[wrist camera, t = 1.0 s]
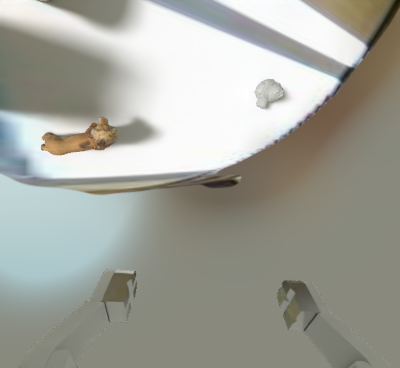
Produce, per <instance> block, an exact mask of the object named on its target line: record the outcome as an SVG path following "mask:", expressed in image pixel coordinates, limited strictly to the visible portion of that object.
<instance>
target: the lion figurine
mask: <svg viewBox="0 0 400 368" xmlns="http://www.w3.org/2000/svg"><path fill="white" fill-rule="evenodd" d="M98 121H99V125H96V124H95V123H92V124H91V125H90V127H89V128H88V129H87V131H86V132H85V133H81V134H76V135H73V136H70V137H67V138H65V139H61V138H60V137H58V136H55V135H52V134H51V133H49V132H48V133H45V134H44V136H42V139H43V140H45V144H42V145H41V150H42V151H43V150H45V151H48V152H49V153H51V154H53V155H64V154H67V153H71V152H80V151H86V150H90V149H95V150H102V149H103V150H104V149H105V148H107V147H109V146H110V145H112V144H113V143H114V142H115V139H116V138H117V134H116V128H114V127H112V126H109V124H108V120H107V119H105V118H104V117H100V118H99V120H98Z"/></svg>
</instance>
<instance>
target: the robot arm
mask: <svg viewBox="0 0 400 368" xmlns="http://www.w3.org/2000/svg"><path fill="white" fill-rule="evenodd" d="M135 277H136V271H125V270H113V269H106V270H105V271H104V272H103V275H102V276H101V279H100V281H99V283H98V285H97V287H96V289H95V291H94V293H93V295H92V297H91V299H90V301H86V302H85V303H83V304H82V305H81V306H80V307H79V308H77V309H76V310H75V311H74V312H72V313H71V314H70V315H69V316H68V317H67V318H65V319H64V320H63V321H62V322H61V323H60V324H58V325H57V326H56V327H55V328H53V330H51V331H50V332H49V333H47V334H46V335H45V336H44V337H43V338H41V339H40V340H39V341H38V342H37V343H35V344H34V345H33V346H32V347H31V348H30V350H29V352H28V353H27V355H26V356H25V358H24V359H23V361H22V362H21V364H20V366H19V367H18V368H78V367H77V365H76V364H75V363H76V361H78V359H79V358H80V357H81V356H82V355H83V354H84V352H85V351H86V350H87V349H88V348H89V347H90V346H91V344H92V343H93V342H94V341H95V340H96V339H97V338H98V336H99V335H100V334H101V333H102V332H103V331H104V329H105V328H106V327H107V326H108V325H109V322H115V323H127V321H128V317H129V314H130V311H131V302H132V301H133V300H134V297H135V294H136V289H137V280H136V279H135ZM282 286H283V287H281V288H280V289H279V290H278V292H277V299H278V303H279V306H280V308H281V309H282V310H283V311H284V314H283V317H284V320H285V323H286V326H287V329H288V330H292V331H304V333H305V334H306V336H307V337H308V338H309V339H310V341H311V342H312V343H313V344H314V345H315V347H316V348H317V349H318V350H319V352H320V353H321V354H322V355H323V357H324V358H325V359H326V360H327V362H328V363H329V364H330V365H331V366H332V368H392V367H391V366H390V364H389V363H388V362H387V360H385V359H384V358H383V357H382V356H381V355H380V354H378V353H377V352H376V351H375V350H374V349H373V348H372V347H370V346H369V345H368V344H367V343H366V342H365V341H364V340H363V339H362V338H360V337H359V336H358V335H357V334H356V333H355V332H354V331H353V330H351V329H350V328H349V327H348V326H347V325H346V324H345V323H343V322H342V321H341V320H340V319H339V318H338V317H337V316H336V315H334V314H331V313H330V311H329V309H328V308H327V306H326V304H325V302H324V301H323V299H322V297H321V295H320V294H319V292H318V290H317V289H316V287H315V285H314V284H313V283H312V282H307V281H292V280H284V281H283V282H282Z"/></svg>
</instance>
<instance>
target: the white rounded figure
mask: <svg viewBox="0 0 400 368" xmlns="http://www.w3.org/2000/svg"><path fill="white" fill-rule="evenodd" d="M283 92H285V91H283V89H282V88H281V85H280V83H276V82H275V81H274V80H273V79H267V80H265V81H263V82H261V83H260V84H259V85H258V86H257V88H256V90H255V94H256V97H257V99H258V101H257V103H256V105H257V107H260V108H262V109H264V108H266V106H267V103H270V102H273V101H275V100H278V99H280V98H281V97H282V96H283Z"/></svg>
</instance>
